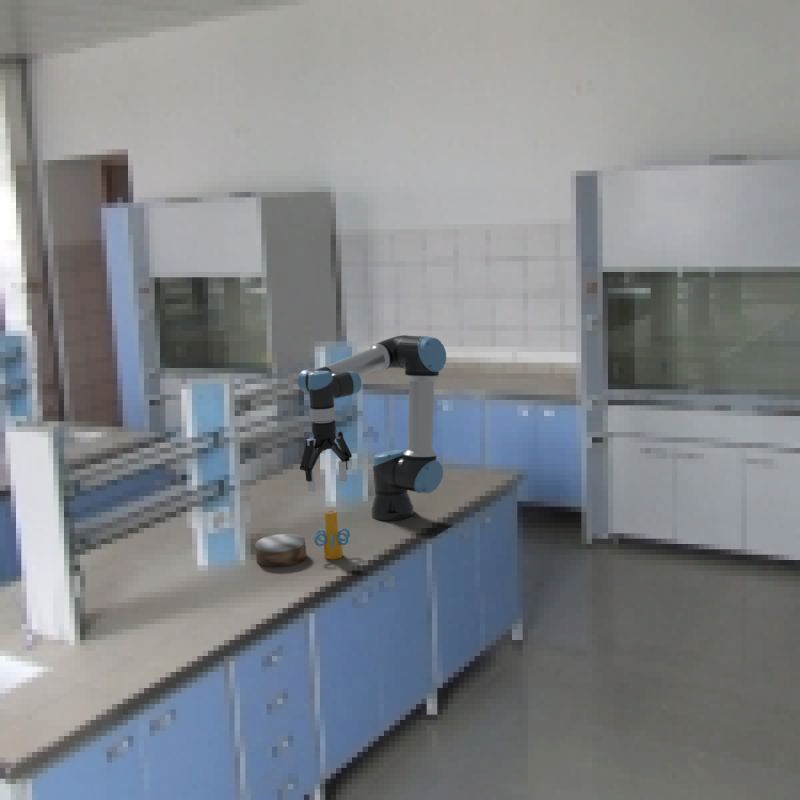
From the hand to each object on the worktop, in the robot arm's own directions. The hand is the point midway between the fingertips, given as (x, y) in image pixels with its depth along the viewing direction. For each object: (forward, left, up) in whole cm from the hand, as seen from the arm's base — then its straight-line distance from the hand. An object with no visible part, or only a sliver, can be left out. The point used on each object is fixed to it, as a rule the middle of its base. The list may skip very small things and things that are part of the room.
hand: (327, 485), depth 343 cm
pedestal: (+11, -13, -24) cm, 29 cm away
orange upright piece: (0, 0, -24) cm, 24 cm away
